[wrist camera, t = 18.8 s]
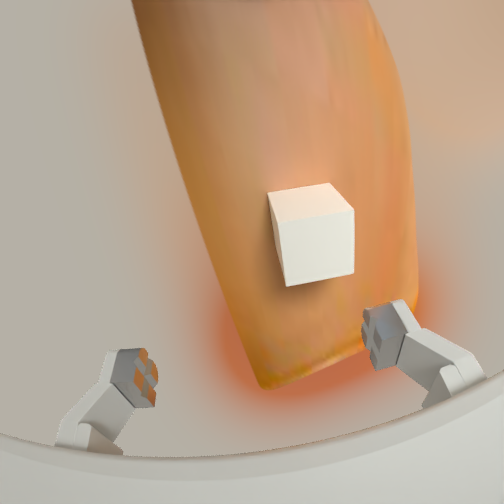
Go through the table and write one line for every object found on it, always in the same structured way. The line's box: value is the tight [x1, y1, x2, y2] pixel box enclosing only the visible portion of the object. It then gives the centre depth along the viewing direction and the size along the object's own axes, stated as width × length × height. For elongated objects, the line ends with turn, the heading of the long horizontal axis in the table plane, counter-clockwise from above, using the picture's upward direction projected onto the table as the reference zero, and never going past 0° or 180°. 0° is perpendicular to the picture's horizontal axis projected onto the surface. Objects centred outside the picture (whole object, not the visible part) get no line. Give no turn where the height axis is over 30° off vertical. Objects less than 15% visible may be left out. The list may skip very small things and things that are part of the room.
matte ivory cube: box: [267, 183, 354, 287], centre depth 31 cm, size 7×7×8 cm
